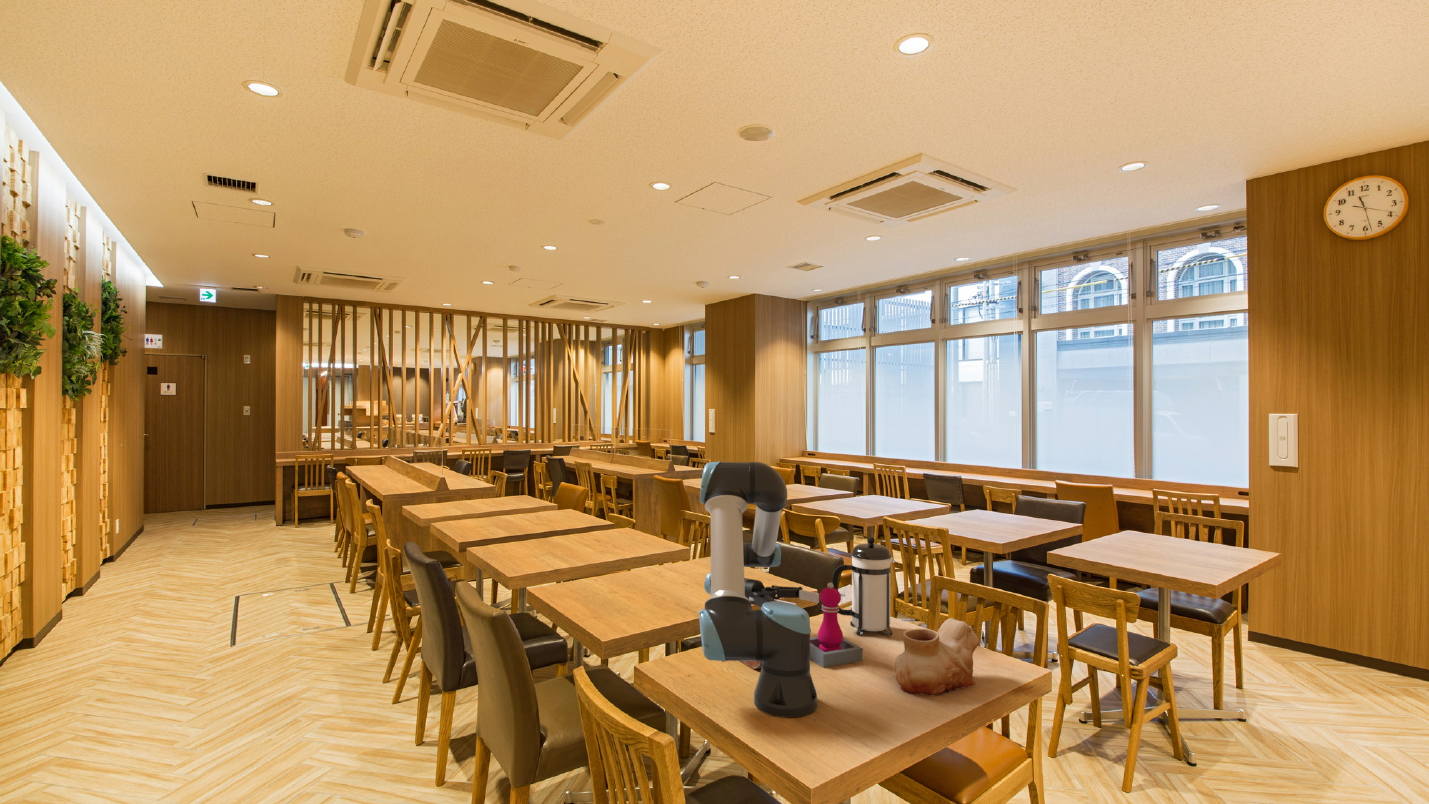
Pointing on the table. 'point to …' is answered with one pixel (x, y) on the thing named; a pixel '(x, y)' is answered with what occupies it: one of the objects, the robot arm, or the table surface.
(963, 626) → the ceramic vessel
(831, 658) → the charcoal tray
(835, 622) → the pepper mill
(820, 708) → the table surface
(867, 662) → the table surface
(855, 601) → the coffee press
